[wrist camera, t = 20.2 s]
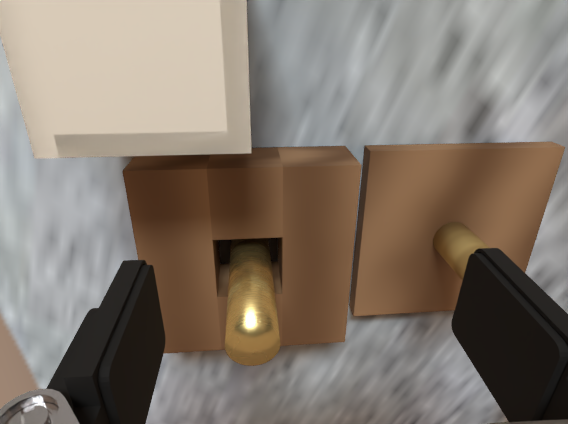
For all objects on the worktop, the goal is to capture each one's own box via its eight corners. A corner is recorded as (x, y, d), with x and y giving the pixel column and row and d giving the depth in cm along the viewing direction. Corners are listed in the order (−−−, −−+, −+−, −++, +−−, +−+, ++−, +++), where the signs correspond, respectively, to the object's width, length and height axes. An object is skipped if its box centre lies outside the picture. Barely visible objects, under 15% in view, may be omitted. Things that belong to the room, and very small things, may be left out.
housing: (243, -53, 16) (243, -105, 9) (248, 109, 18) (251, 153, 12) (76, -56, 15) (-41, -114, 9) (107, 111, 18) (34, 158, 12)
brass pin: (267, 220, 21) (280, 321, 14) (268, 252, 22) (280, 363, 15) (230, 221, 21) (223, 325, 14) (232, 254, 22) (226, 367, 15)
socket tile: (345, 145, 20) (361, 165, 17) (333, 306, 24) (344, 341, 21) (139, 150, 19) (122, 170, 16) (165, 315, 23) (155, 353, 20)
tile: (551, 141, 21) (659, 182, 15) (504, 296, 25) (576, 371, 20) (364, 145, 20) (410, 190, 14) (349, 305, 24) (380, 386, 19)
